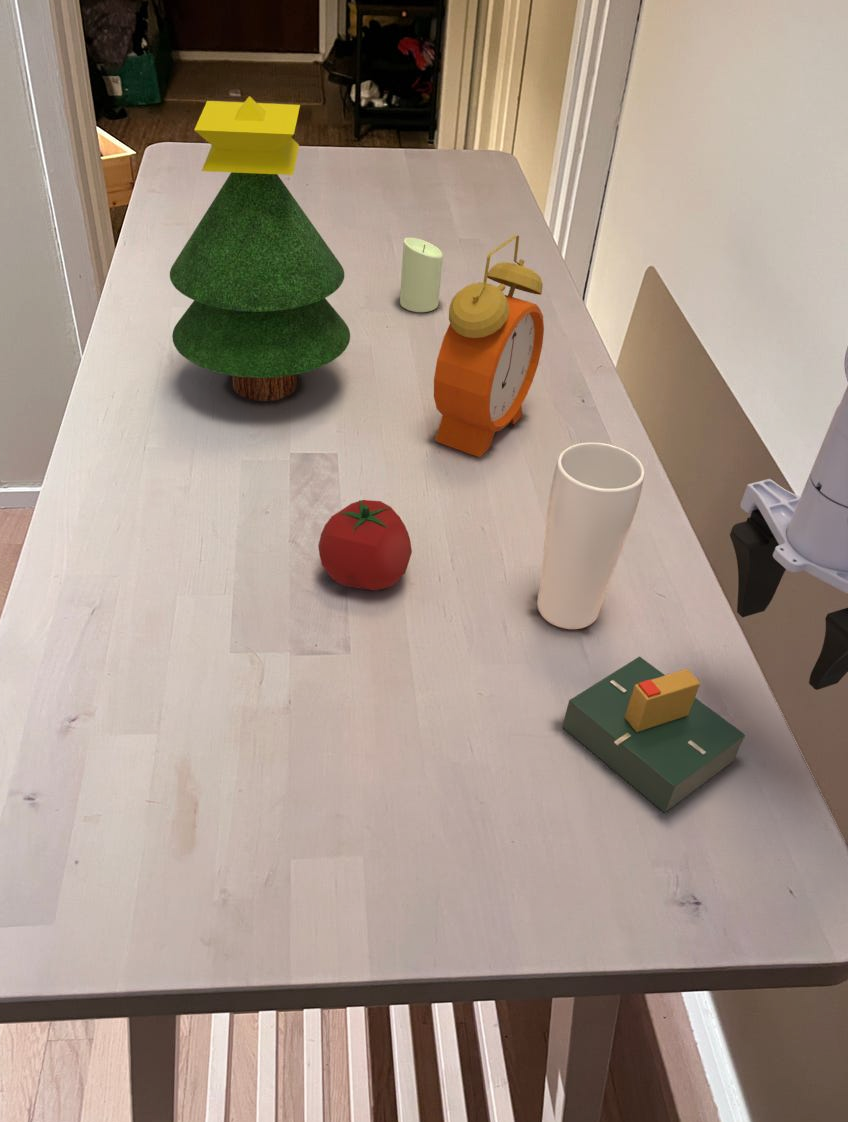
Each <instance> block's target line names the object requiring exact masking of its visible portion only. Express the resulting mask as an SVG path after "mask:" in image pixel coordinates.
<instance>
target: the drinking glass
mask: <svg viewBox="0 0 848 1122" xmlns="http://www.w3.org/2000/svg"><path fill="white" fill-rule="evenodd" d="M644 467H645V466H644V465H643V463H642V462H641V460H640V459H639V458H638V457H636V456H635V455H634V454H632V453H631V452H629V450H626V449H624V448H622V447H619V446H616V445H613V444H608V443H603V442H581V443H576V444H572V445H570V446H569V447H567V448H565V449H564V450H563V451H561V453H560V454H559V456H558V457H557V461H556V464H555V468H554V473H553V476H552V481H551V486H550V491H549V496H548V504H547V511H546V520H545V521H546V522H545V531H544V543H543V554H542V564H541V566H542V567H541V574H540V584H539V588H538V589H539V590H538V594H537V598H536V599H537V600H536V602H537V603H536V604H537V605H536V606H537V611H538V612H539V614H540V615H541V617H542V618H543V619H544V620H545V621H546V622H548V623H549V624H551V625H553V626H555V627H558V628H561V629H566V630H579V629H584V628H587V627H589V626H591V625H592V624H593V623H594V622H595V621H596V620H597V619H598V617H599V616H600V612H601V608H602V604H603V602H604V598H605V595H606V594H607V590H608V588H609V584H610V582H611V580H612V577H613V574H614V572H615V568H616V566H617V564H618V561H619V559H620V556H621V553H622V551H623V548H624V546H625V544H626V541H627V538H628V536H629V532H630V530H631V528H632V525H633V523H634V520H635V516H636V513H637V509H638V505H639V503H640V499H641V494H642V489H643V485H644V480H645V474H646V473H645V472H646V471H645V468H644Z"/></svg>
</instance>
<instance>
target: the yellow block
mask: <svg viewBox="0 0 848 1122" xmlns="http://www.w3.org/2000/svg"><path fill="white" fill-rule="evenodd" d="M664 675H665V676H662V677H659V678H656V679H652V680H647V681H643V682H640V683H639V684H636V685H635V686H634V689H633V692H632V695H631V698H630V702H629V705H628V708H627V711H626V714H625V719H626V720H627V721H628V722H629V724H630V725H631V726H632V727H633V729H634V730H635V731H636V732H639V731H642V730H645V729H648V728H651V727H654V726H658V725H661V724H664V723H667V722H670V721H673V720H676V719H679V718H682V717H685V716H688V714H689V712H690V709H691V707H692V704H693V701H694V699H695V698H696V696H697V693H698V690H699V688H700V685H701V682H700V681H699V680H698V678H697V677H696V676H695V675H694V674H693V673H692V672H691V671H690V670H689V669H688V668H685V669H682V670H678V671H675V672H672V673H668V674H664Z"/></svg>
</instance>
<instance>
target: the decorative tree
mask: <svg viewBox="0 0 848 1122" xmlns="http://www.w3.org/2000/svg"><path fill="white" fill-rule="evenodd" d="M300 107H301V105H300V104H290V103H289V104H287V103H268V102H267V103H265V102H264V103H263V102H257V101H255V100H254V98H253V97H251V96H250V95H249V96H248V97H247V98H246V100H245V101H244V102H243V101H240V102H239V101H222V100H221V101H220V100H219V101H218V100H207V101H206V102H205V105H204V107H203V109H202V111H201V114H200V115H199V118H198V121H197V123H196V125H195V127H194V132H196V133H197V134H198V135H199V136H200V137H201V138H202V139H204V140H205V141H206V142H207V143H209V144H210V145H211V146H210V147H209V148H210V149H209V151H208V153H207V156H206V159H205V162H204V164H203V167H202V169H201V172H214V173H215V172H217V173H229V175H228V177H227V179H225V181H224V183H223V184H222V186H221V188H220V189H219V191H218V192H217V194H216V196H215V197H214V199H213V200H212V202H211V204H210V205H209V207H208V208H207V209H206V212H205V213H204V215H203V217H202V218H201V220H200V221H199V222H198V225H197V226H196V227H195V229H194V230H193V233H192V234H191V235H190V237H189V239H187V241H186V243H185V245H184V247H183V248H182V249H181V251H180V253H179V255H178V256H177V257H176V259H175V261H174V263H173V264H172V265H171V267H170V271H169V279H170V282H171V284H172V285H173V287H174V288H175V289H176V290H177V291H178V292H179V293H181V295H183V296H185V297H187V298H188V299H191V300H192V302H191V304H190V305H189V307H188V308H187V309H186V310H185V312H184V313H183V315H181V317H180V319H179V320H178V321H177V322H176V324H175V326H174V327H173V330H172V334H171V339H172V344H173V345H174V347H175V349H176V350H177V352H178V354H180V355H181V356H182V357H183V358H184V359H186V360H188V361H189V362H190V363H192V364H194V365H195V366H198V367H200V368H203V369H205V370H208V371H211V372H214V373H218V374H223V375H228V376H231V378H232V379H231V380H232V388H233V390H234V391H235V393H236V394H238V395H239V396H240V397H243V398H244V399H248V400H252V401H256V402H272V401H278V400H281V399H284V398H287V397H289V396H290V395H292V394H293V393H295V391H296V390H297V387H298V375H299V374H305V373H307V372H310V371H313V370H316V369H317V370H318V369H319V368H322V367H324V366H326V365H328V364H330V363H331V362H333V361H335V360H336V359H337V358H339V357H341V355H342V354H343V353H344V352H345V351H346V349H347V348H348V347H349V344H350V341H351V331H350V328H349V327H348V324H347V323H346V321H345V320H344V319H343V318H342V316H341V315H340V314H339V313H338V312H337V310H336V309H335V308H334V307H333V306H332V304H331V303H330V302H329V301H328V299H327V298H328V297H330V296H332V294H334V293H335V292H336V291H337V290H339V288H340V287H341V286H342V285H343V283H344V281H345V270H344V267H343V265H342V264H341V262H340V261H339V259H338V258H337V257H336V255H335V254H334V253H333V251H332V249H331V248H330V247H329V245H328V244H327V242H326V241H325V240H324V239H323V237H322V235H321V234H320V233H319V231H318V229H317V228H316V226H315V225H314V224H313V223H312V221H311V220H310V218H309V217H308V215H307V214H306V213H305V211H304V210H303V208H302V207H301V206H300V204H299V202H297V200H296V199H295V197H294V196H293V194H292V193H291V191H290V190H289V189H288V187H287V186H286V185H285V183H284V181H283V180H282V179H281V177H280V176H279V175H283V176H285V175H286V176H287V175H289V176H294V174H295V170H296V169H295V168H296V164H297V158H298V152H299V148H300V144H299V143H298V142H297V141H296V140H295V139H294V138H293V136H294V135H295V131H296V126H297V121H298V117H299V111H300Z"/></svg>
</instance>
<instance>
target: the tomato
mask: <svg viewBox="0 0 848 1122" xmlns="http://www.w3.org/2000/svg"><path fill="white" fill-rule="evenodd" d="M411 543H412V542H411V538H410V535H409V531H408V529H407V526H406V525H405V523H404V521H403V520H402V518H401V517H400V515H399V514H397V512H396V511H395V510H394V509H393V507H392V506H390V505H388V504H387V503H385V502H383V501H382V500H372V499H371V500H370V499H359V500H358V501H355V502H352V503H349V504H348V505H347V506H346V507H343V509H341V510H339V511H338V512H335V514H333V515H332V516H331V517H329V519H328V521H327V522H326V523H325V524H324V526H323V528H322V531H321V533H320V537H319V541H318V545H317V546H318V555H319V559H320V562H321V567H322V568H323V569H324V570H325V571H326V572H327V574H328V575H329V576H330V578H331V579H332V580H333V581H335V582H336V583H338V584H340V585H342V586H344V587H349V588H356V589H363V590H368V591H369V590H371V591H378V590H383V589H384V590H385V589H387V588H390V587H392V586H394V585H395V584H396V583H397V582H398V581H399V580H400V579H401V578H403V576H404V575H405V574H406V572H407V570H408V567H409V563H410V559H411V557H412V554H413V552H412V551H413V550H412V544H411Z"/></svg>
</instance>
